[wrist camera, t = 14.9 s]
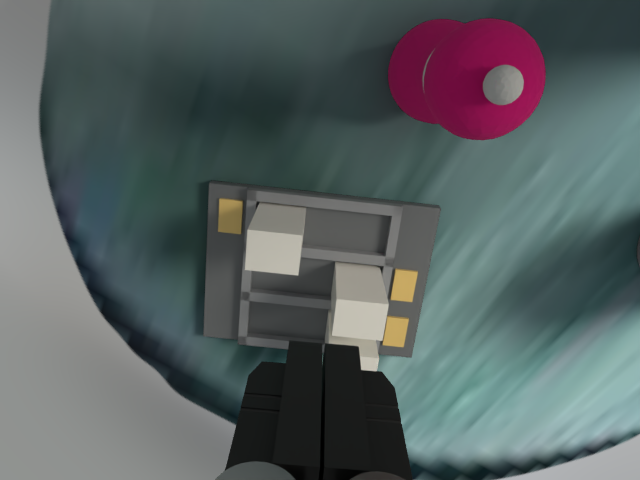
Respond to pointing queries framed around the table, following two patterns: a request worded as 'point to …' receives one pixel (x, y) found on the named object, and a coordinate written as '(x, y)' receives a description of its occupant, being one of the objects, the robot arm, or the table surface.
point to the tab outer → (366, 346)
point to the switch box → (314, 265)
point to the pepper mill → (468, 76)
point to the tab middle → (358, 301)
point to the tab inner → (275, 238)
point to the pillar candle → (638, 251)
